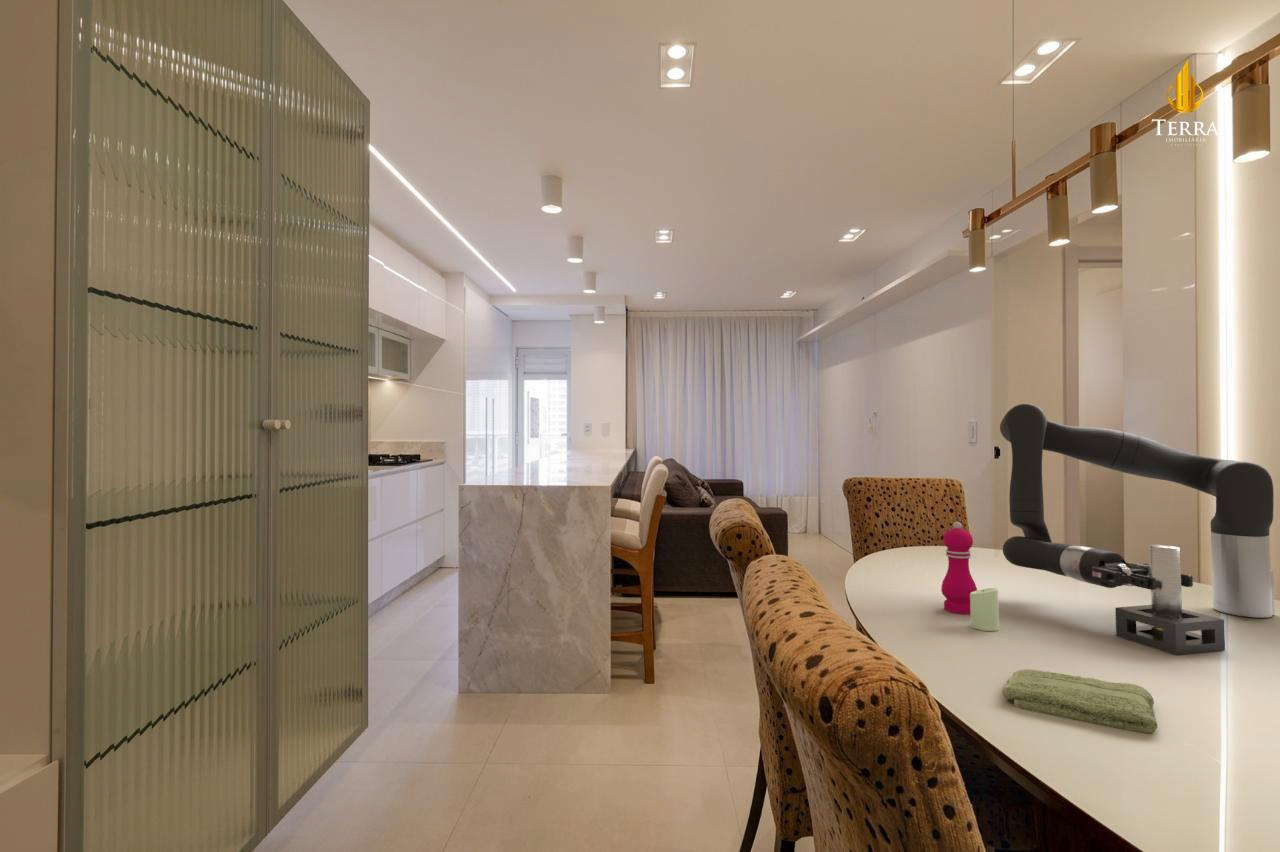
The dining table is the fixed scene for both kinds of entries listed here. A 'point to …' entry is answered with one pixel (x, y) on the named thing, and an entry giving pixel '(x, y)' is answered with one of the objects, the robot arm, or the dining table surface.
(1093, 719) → the washcloth
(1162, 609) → the metal can
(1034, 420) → the robot arm
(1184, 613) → the collar stand
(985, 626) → the candle
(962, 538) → the pepper mill
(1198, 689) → the dining table surface
